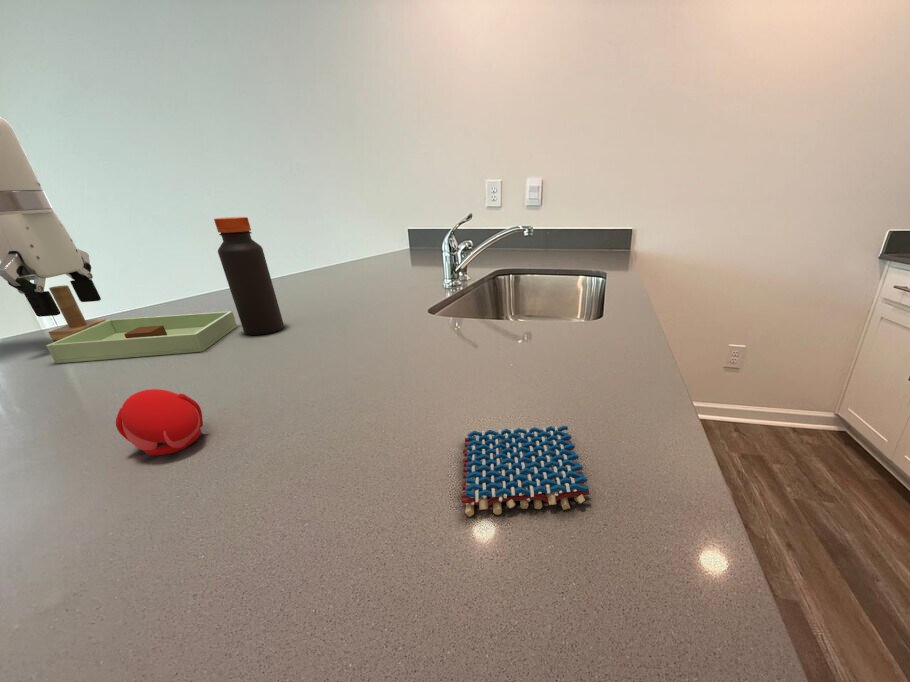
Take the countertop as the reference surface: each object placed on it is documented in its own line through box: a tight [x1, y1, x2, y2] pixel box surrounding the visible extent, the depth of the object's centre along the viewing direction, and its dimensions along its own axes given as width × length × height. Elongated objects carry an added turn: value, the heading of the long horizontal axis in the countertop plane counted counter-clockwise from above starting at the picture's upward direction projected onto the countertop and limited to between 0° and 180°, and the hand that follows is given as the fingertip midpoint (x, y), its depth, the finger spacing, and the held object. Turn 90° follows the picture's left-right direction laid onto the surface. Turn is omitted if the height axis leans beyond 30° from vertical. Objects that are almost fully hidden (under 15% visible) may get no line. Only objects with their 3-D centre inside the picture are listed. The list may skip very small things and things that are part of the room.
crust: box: [124, 325, 167, 338], centre depth 72 cm, size 4×4×2 cm
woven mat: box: [460, 424, 590, 518], centre depth 37 cm, size 10×11×2 cm
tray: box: [45, 310, 238, 364], centre depth 72 cm, size 21×14×3 cm
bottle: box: [213, 216, 285, 336], centre depth 74 cm, size 7×7×20 cm
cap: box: [115, 388, 204, 456], centre depth 42 cm, size 8×6×6 cm
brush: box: [48, 284, 107, 343], centre depth 73 cm, size 7×4×10 cm, turn 11°
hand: (71, 307), depth 73 cm, fingers open, 9 cm apart
